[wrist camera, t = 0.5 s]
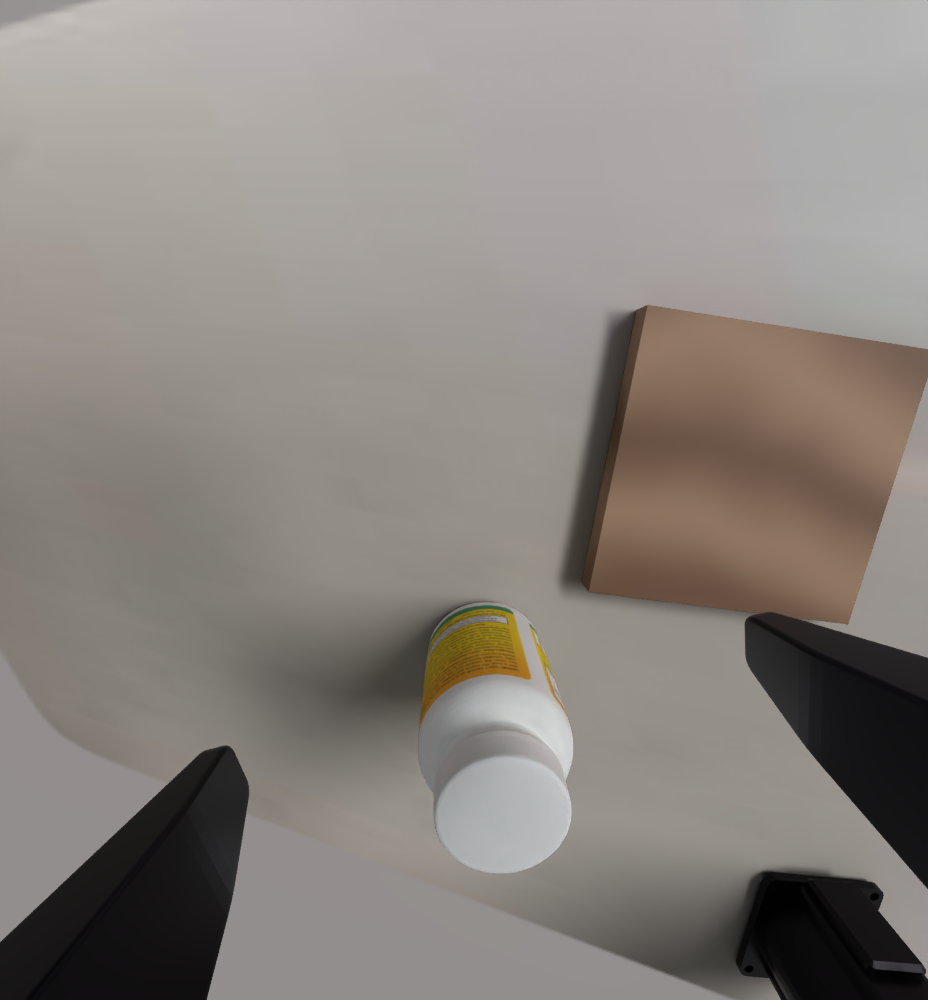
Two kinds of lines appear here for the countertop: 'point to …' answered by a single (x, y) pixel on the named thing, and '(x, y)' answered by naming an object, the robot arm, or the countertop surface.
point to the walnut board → (750, 464)
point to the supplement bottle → (494, 740)
